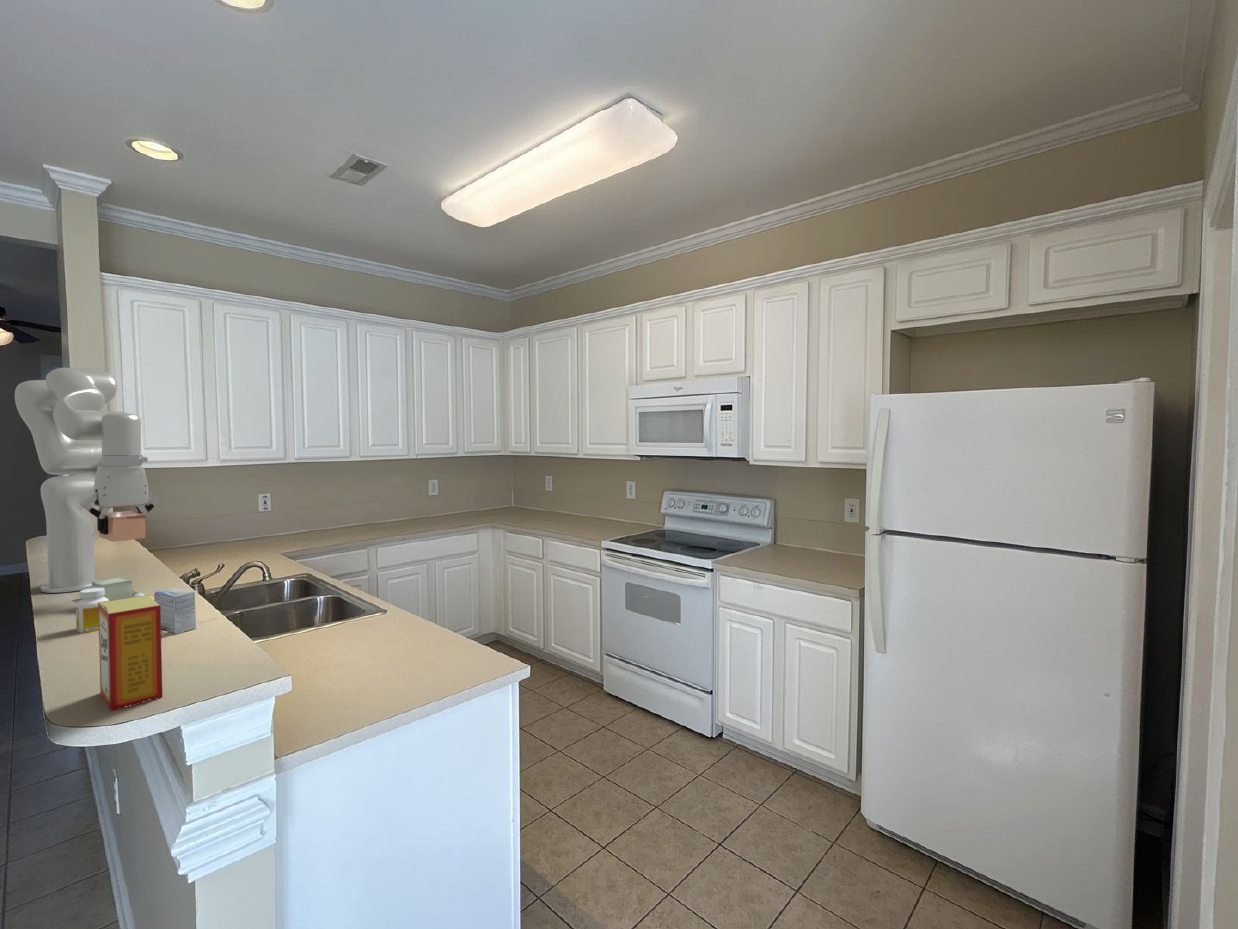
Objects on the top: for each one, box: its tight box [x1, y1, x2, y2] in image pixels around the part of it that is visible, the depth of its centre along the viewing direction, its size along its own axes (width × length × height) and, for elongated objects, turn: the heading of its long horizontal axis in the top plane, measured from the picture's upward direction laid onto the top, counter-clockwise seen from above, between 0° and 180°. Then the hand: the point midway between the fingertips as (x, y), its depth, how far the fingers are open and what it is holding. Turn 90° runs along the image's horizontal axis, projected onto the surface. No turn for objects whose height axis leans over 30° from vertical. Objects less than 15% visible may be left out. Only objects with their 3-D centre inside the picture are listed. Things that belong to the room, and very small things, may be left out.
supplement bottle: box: [75, 588, 109, 633], centre depth 126 cm, size 5×5×10 cm
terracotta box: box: [98, 510, 147, 543], centre depth 147 cm, size 9×7×6 cm
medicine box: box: [153, 587, 197, 635], centre depth 130 cm, size 8×4×9 cm, turn 65°
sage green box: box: [92, 576, 133, 601], centre depth 143 cm, size 6×6×6 cm
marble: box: [133, 592, 146, 597], centre depth 143 cm, size 3×3×3 cm
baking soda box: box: [98, 594, 163, 712], centre depth 97 cm, size 10×6×16 cm
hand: (122, 531), depth 147 cm, fingers closed on terracotta box, 6 cm apart
